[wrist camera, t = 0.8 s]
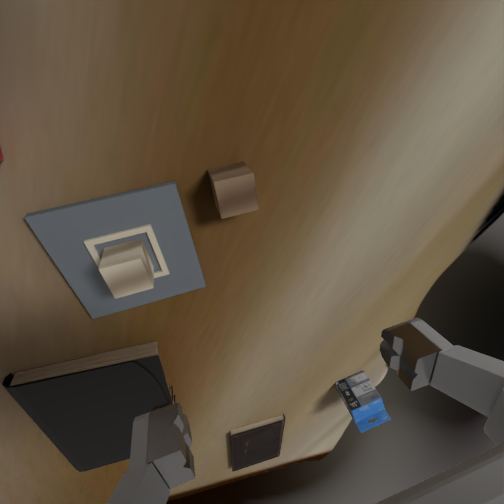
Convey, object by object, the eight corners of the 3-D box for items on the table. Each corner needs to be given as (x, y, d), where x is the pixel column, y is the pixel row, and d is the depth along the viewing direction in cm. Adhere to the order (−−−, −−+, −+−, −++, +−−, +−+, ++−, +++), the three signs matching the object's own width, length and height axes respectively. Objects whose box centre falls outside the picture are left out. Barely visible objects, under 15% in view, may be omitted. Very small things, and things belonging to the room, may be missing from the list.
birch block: (104, 248, 38) (98, 269, 34) (141, 238, 39) (140, 258, 35) (119, 275, 41) (115, 298, 37) (153, 266, 42) (153, 288, 38)
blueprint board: (26, 214, 34) (22, 219, 33) (174, 180, 37) (175, 184, 36) (93, 314, 45) (92, 320, 44) (205, 282, 48) (206, 287, 46)
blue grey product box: (363, 369, 80) (392, 412, 70) (363, 376, 82) (392, 419, 73) (334, 382, 79) (360, 427, 70) (335, 388, 82) (360, 433, 72)
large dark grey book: (185, 443, 67) (73, 475, 62) (184, 425, 71) (78, 455, 65) (159, 356, 49) (-3, 392, 44) (159, 338, 52) (8, 369, 47)
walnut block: (207, 169, 38) (213, 182, 34) (243, 161, 38) (253, 172, 34) (214, 203, 41) (221, 218, 37) (248, 195, 41) (258, 209, 37)
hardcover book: (230, 463, 90) (232, 471, 89) (228, 428, 78) (230, 437, 76) (278, 448, 94) (280, 455, 92) (283, 412, 81) (286, 420, 80)
